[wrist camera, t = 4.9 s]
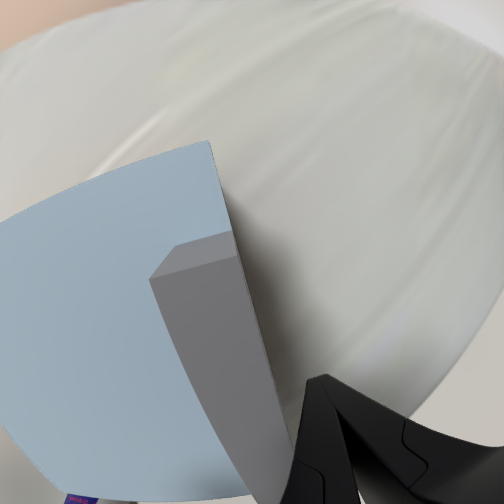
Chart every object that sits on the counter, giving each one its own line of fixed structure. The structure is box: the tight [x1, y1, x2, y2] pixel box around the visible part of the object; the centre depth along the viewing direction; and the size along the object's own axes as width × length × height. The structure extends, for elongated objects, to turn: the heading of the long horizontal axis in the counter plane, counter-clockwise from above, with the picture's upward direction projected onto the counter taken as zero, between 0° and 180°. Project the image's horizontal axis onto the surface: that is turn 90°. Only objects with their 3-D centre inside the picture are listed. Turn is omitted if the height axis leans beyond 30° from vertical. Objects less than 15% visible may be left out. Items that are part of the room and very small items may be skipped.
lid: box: [0, 140, 295, 504], centre depth 8 cm, size 15×15×4 cm
